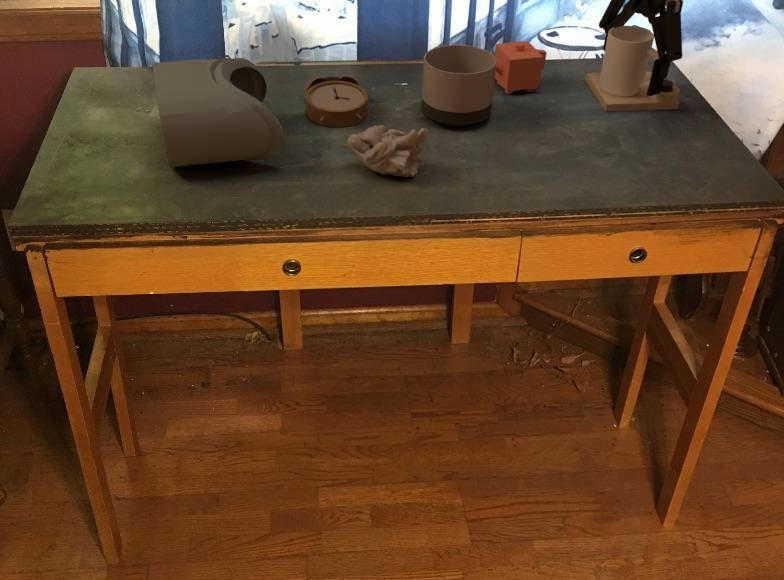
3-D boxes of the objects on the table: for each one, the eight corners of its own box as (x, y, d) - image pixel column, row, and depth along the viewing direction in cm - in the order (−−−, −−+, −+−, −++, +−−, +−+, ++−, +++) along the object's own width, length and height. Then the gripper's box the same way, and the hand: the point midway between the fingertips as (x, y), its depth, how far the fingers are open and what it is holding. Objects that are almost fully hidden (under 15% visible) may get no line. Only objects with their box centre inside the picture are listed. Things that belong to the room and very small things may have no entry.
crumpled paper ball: (427, 125, 134) (366, 91, 137) (394, 182, 136) (335, 147, 139) (441, 140, 142) (383, 107, 145) (410, 194, 143) (354, 160, 147)
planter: (498, 129, 154) (504, 72, 147) (428, 133, 153) (431, 75, 145) (481, 98, 163) (486, 43, 156) (415, 102, 162) (417, 46, 155)
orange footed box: (476, 81, 169) (480, 39, 164) (533, 75, 172) (538, 33, 166) (490, 98, 164) (494, 54, 158) (548, 92, 166) (554, 49, 160)
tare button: (673, 93, 161) (675, 85, 160) (659, 93, 160) (661, 85, 159) (668, 87, 163) (670, 79, 162) (654, 87, 162) (656, 79, 161)
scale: (680, 110, 162) (684, 94, 159) (606, 112, 160) (609, 96, 158) (654, 78, 172) (658, 63, 170) (585, 80, 171) (587, 65, 168)
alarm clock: (309, 114, 151) (300, 65, 159) (310, 138, 154) (300, 89, 163) (372, 111, 152) (359, 62, 161) (371, 134, 156) (359, 86, 165)
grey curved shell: (162, 123, 154) (150, 51, 145) (267, 113, 157) (262, 42, 148) (171, 184, 138) (158, 107, 129) (287, 171, 142) (283, 96, 133)
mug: (666, 95, 163) (680, 40, 156) (643, 108, 159) (656, 52, 151) (613, 75, 169) (624, 22, 162) (589, 87, 165) (599, 33, 157)
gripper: (593, -58, 153) (572, 63, 168) (693, -18, 139) (661, 110, 154) (624, -64, 156) (601, 55, 171) (725, -25, 142) (691, 101, 157)
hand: (629, 81), depth 163 cm, fingers closed on mug, 12 cm apart
